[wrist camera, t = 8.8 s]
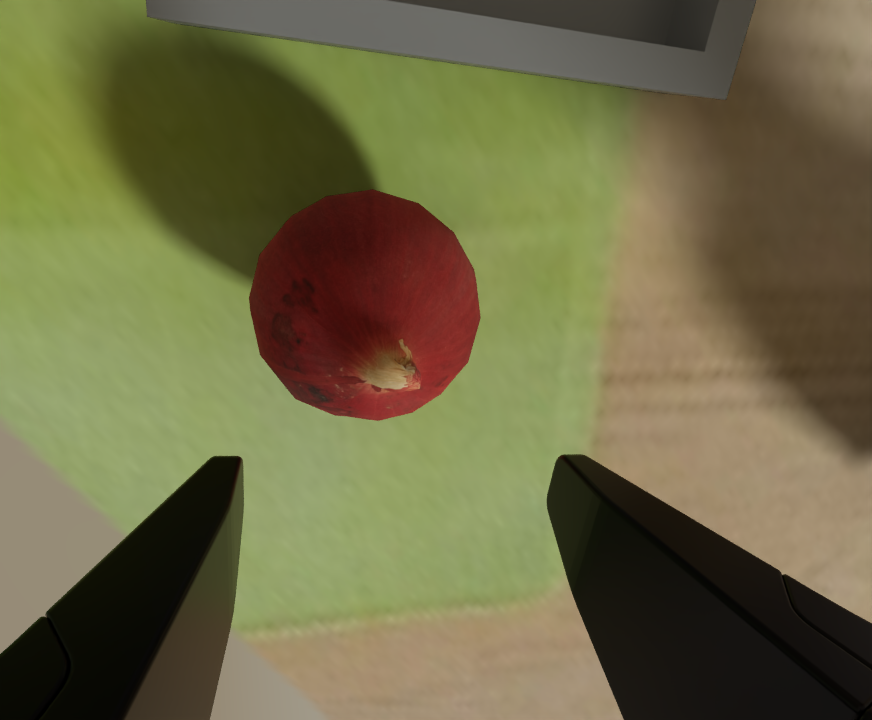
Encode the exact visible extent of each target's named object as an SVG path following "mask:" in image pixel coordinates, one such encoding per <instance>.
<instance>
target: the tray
mask: <svg viewBox="0 0 872 720" xmlns="http://www.w3.org/2000/svg"><path fill="white" fill-rule="evenodd" d="M755 3H756V0H146V6H147V17H150V18H154V19H158V20H163V21H167V22H171V23H175V24H181V25H188V26H195V27H202V28H209V29H216V30H223V31H230V32H237V33H244V34H251V35H258V36H265V37H272V38H279V39H286V40H293V41H300V42H307V43H314V44H321V45H328V46H335V47H342V48H349V49H356V50H363V51H370V52H377V53H384V54H391V55H398V56H405V57H412V58H419V59H426V60H433V61H440V62H447V63H454V64H461V65H468V66H475V67H482V68H489V69H496V70H503V71H510V72H517V73H524V74H531V75H538V76H545V77H552V78H559V79H566V80H573V81H580V82H587V83H594V84H601V85H608V86H615V87H622V88H629V89H636V90H643V91H650V92H657V93H664V94H673V95H683V96H692V97H702V98H712V99H722V100H726V98H727V95H728V92H729V89H730V85H731V82H732V79H733V75H734V72H735V69H736V66H737V62H738V59H739V56H740V52H741V49H742V46H743V43H744V39H745V36H746V33H747V29H748V26H749V23H750V20H751V16H752V13H753V10H754V6H755Z"/></svg>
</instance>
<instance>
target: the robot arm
mask: <svg viewBox="0 0 872 720" xmlns="http://www.w3.org/2000/svg"><path fill="white" fill-rule="evenodd" d="M547 509H548V513H549V517H550V520H551V524H552V527H553V531H554V534H555V537H556V541H557V544H558V548H559V551H560V555H561V558H562V562H563V565H564V569H565V572H566V575H567V579H568V582H569V585H570V588H571V591H572V594H573V597H574V600H575V602H576V605H577V607H578V610H579V612H580V615H581V617H582V620H583V622H584V624H585V627H586V629H587V632H588V634H589V637H590V639H591V641H592V644H593V646H594V649H595V651H596V653H597V656H598V658H599V661H600V663H601V666H602V668H603V670H604V673H605V675H606V678H607V680H608V683H609V685H610V687H611V690H612V692H613V695H614V697H615V699H616V702H617V704H618V707H619V709H620V712H621V714H622V716H623V719H624V720H872V623H870V622H868V621H866V620H865V619H863V618H861V617H859V616H857V615H855V614H853V613H852V612H850V611H848V610H846V609H845V608H843V607H841V606H839V605H838V604H836V603H834V602H832V601H831V600H829V599H827V598H825V597H824V596H822V595H820V594H818V593H817V592H815V591H813V590H811V589H810V588H808V587H806V586H805V585H803V584H801V583H800V582H798V581H796V580H795V579H793V578H791V577H790V576H788V575H786V574H784V575H782V574H781V572H780V571H779V570H778V569H776V568H774V567H773V566H771V565H769V564H768V563H766V562H764V561H762V560H761V559H759V558H757V557H756V556H754V555H752V554H751V553H749V552H747V551H746V550H744V549H742V548H741V547H739V546H737V545H735V544H734V543H732V542H730V541H729V540H727V539H725V538H724V537H722V536H720V535H719V534H717V533H715V532H714V531H712V530H710V529H709V528H707V527H705V526H703V525H702V524H700V523H698V522H697V521H695V520H693V519H692V518H690V517H688V516H687V515H685V514H683V513H682V512H680V511H678V510H676V509H675V508H673V507H671V506H670V505H668V504H666V503H665V502H663V501H661V500H660V499H658V498H656V497H655V496H653V495H651V494H650V493H648V492H646V491H644V490H643V489H641V488H639V487H638V486H636V485H634V484H633V483H631V482H629V481H628V480H626V479H624V478H623V477H621V476H619V475H617V474H616V473H614V472H612V471H611V470H609V469H607V468H606V467H604V466H602V465H601V464H599V463H597V462H596V461H594V460H592V459H591V458H589V457H587V456H585V455H581V454H574V455H561V456H559V457H558V459H557V460H556V463H555V466H554V470H553V474H552V478H551V482H550V486H549V490H548V494H547ZM243 510H244V487H243V460H242V458H241V457H239V456H214V457H212V458H210V459H209V460H208V461H207V462H206V463H205V464H204V465H202V466H201V467H200V468H199V469H198V470H197V471H196V472H195V473H194V474H193V475H192V476H191V477H190V478H189V479H188V480H186V481H185V482H184V483H183V484H182V485H181V486H180V487H179V488H178V489H177V490H176V491H175V492H174V493H173V494H172V495H170V496H169V497H168V498H167V499H166V500H165V501H164V502H163V503H162V504H161V505H160V506H159V507H158V508H157V509H156V510H154V511H153V512H152V513H151V514H150V515H149V516H148V517H147V518H146V519H145V520H144V521H143V522H142V523H141V524H140V525H138V526H137V527H136V528H135V529H134V530H133V531H132V532H131V533H130V534H129V535H128V536H127V537H126V538H125V539H124V540H122V541H121V542H120V543H119V544H118V545H117V546H116V547H115V548H114V549H113V550H112V551H111V552H110V553H109V554H108V555H107V556H106V557H104V558H103V559H102V560H101V561H100V562H99V563H98V564H97V565H96V566H95V567H94V568H93V569H92V570H90V571H89V572H88V573H87V574H86V575H85V576H84V577H83V578H82V579H81V580H80V581H79V582H78V583H77V584H76V585H74V586H73V587H72V588H71V589H70V590H69V591H68V592H67V593H66V594H65V595H64V596H63V597H62V598H61V599H60V600H58V601H57V602H56V603H55V604H54V605H53V606H52V607H51V608H50V609H49V610H48V611H47V612H46V617H40V618H39V619H38V620H37V621H36V622H35V623H34V624H32V625H31V626H30V627H29V628H28V629H27V630H26V631H25V632H24V633H23V634H22V635H21V636H20V637H19V638H18V639H16V640H15V641H14V642H13V643H12V644H11V645H10V646H9V647H8V648H7V649H5V650H4V651H3V652H2V653H1V654H0V720H210V716H211V712H212V707H213V703H214V698H215V694H216V690H217V685H218V680H219V676H220V672H221V667H222V663H223V658H224V654H225V650H226V646H227V641H228V637H229V632H230V628H231V623H232V617H233V612H234V604H235V597H236V586H237V576H238V565H239V555H240V544H241V534H242V523H243Z"/></svg>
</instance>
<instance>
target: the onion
mask: <svg viewBox="0 0 872 720" xmlns="http://www.w3.org/2000/svg"><path fill="white" fill-rule="evenodd" d="M249 302H250V311H251V316H252V320H253V325H254V329H255V334H256V338H257V343H258V347H259V352H260V355H261V357H262V358H263V359H264V360H265V362H266V363H267V364H268V365H269V367H270V368H271V369H272V370H273V372H274V373H275V374H276V375H277V377H278V378H279V379H280V380H281V382H282V383H283V384H284V386H285V387H286V388H287V389H288V391H289V392H290V393H291V394H292V395H293V396H294V398H295V399H297V400H299V401H302V402H304V403H306V404H309V405H311V406H314V407H316V408H318V409H321V410H323V411H326V412H328V413H330V414H333V415H337V416H348V417H355V418H362V419H369V420H376V421H379V420H383V419H387V418H391V417H395V416H400V415H404V414H408V413H412V412H414V411H415V410H417V409H418V408H420V407H421V406H423V405H425V404H426V403H428V402H429V401H431V400H432V399H434V398H435V397H437V396H439V395H440V394H441V393H442V392H443V391H444V390H445V388H446V387H447V386H448V385H449V384H450V382H451V381H452V380H453V379H454V378H455V376H456V375H457V374H458V373H459V372H460V371H461V370H462V368H463V367H464V366H465V365H466V364H467V363H468V360H469V357H470V353H471V350H472V346H473V343H474V339H475V336H476V332H477V329H478V325H479V322H480V310H479V301H478V292H477V284H476V277H475V273H474V269H473V267H472V265H471V263H470V261H469V259H468V258H467V256H466V254H465V252H464V250H463V248H462V246H461V245H460V243H459V241H458V239H457V237H456V235H455V234H454V232H453V231H452V230H450V229H449V228H448V227H447V226H445V225H444V224H443V223H442V222H441V221H439V220H438V219H437V218H436V217H435V216H433V215H432V214H431V213H430V212H429V211H427V210H426V209H425V208H424V207H423V206H421V205H420V204H419V203H416V202H413V201H409V200H406V199H403V198H399V197H396V196H393V195H390V194H386V193H383V192H380V191H376V190H373V189H371V190H365V191H359V192H352V193H346V194H338V195H330V196H326V197H324V198H322V199H321V200H319V201H318V202H316V203H314V204H312V205H310V206H308V207H307V208H305V209H303V210H301V211H299V212H298V213H296V214H294V215H292V216H291V217H290V218H289V219H288V220H287V221H286V223H285V224H284V225H283V226H282V228H281V229H280V230H279V231H278V233H277V234H276V235H275V236H274V238H273V239H272V240H271V241H270V242H269V244H268V245H267V246H266V247H265V249H264V250H263V251H262V252H261V254H260V255H259V259H258V263H257V268H256V272H255V276H254V280H253V284H252V288H251V292H250V296H249Z"/></svg>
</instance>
